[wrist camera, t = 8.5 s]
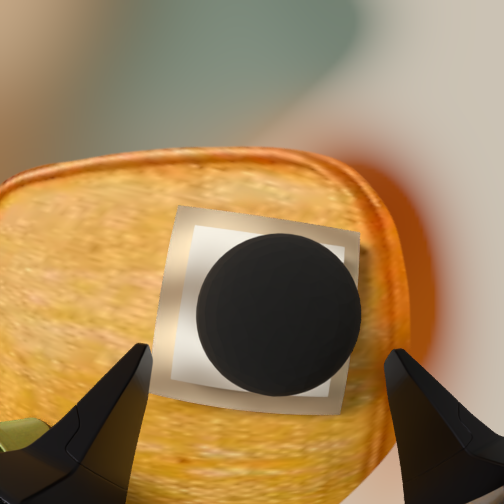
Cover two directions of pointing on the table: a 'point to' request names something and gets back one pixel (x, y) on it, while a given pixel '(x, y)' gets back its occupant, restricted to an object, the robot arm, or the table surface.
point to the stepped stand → (185, 301)
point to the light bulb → (278, 314)
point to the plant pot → (20, 433)
